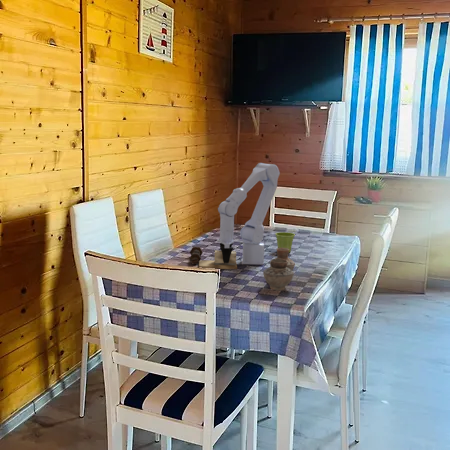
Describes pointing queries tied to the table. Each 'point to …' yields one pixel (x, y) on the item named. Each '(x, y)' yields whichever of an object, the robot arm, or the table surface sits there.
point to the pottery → (279, 270)
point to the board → (212, 265)
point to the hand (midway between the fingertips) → (225, 261)
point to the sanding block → (220, 258)
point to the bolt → (195, 255)
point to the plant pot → (285, 240)
